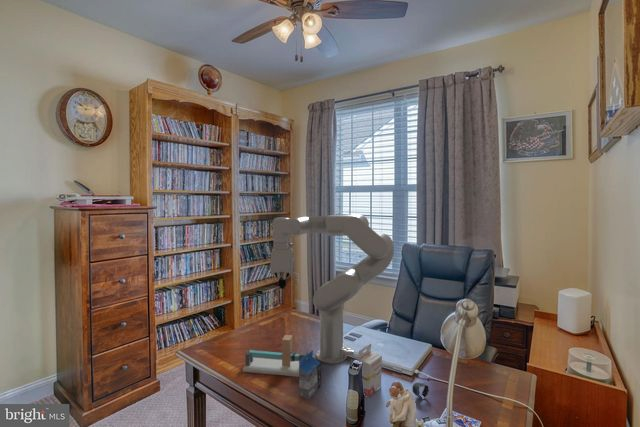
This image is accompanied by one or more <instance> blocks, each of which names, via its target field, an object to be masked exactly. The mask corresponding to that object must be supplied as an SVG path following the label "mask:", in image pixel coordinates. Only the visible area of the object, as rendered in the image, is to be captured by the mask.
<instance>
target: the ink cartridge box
mask: <svg viewBox="0 0 640 427" xmlns="http://www.w3.org/2000/svg"><path fill="white" fill-rule="evenodd" d="M371 349H372V343H369V344H367V345H366V346H364V347H363V348H362V349H359V350H358V356H357V362H358V361H359V362H362V363H363V367H362V380H363V388H364V394H365V396H367V397H369V396H370V395H372V394H373V393H374V392H375V391H376V390H377V389H378V388H379V387H381V388H382V368H383V367H382V366H383V364H382V361H383V354H380V353H377V352H373V351H371ZM377 391H378V390H377ZM377 391H376V392H377ZM376 392H375V393H376ZM375 393H374V394H375ZM374 394H373V395H374ZM373 395H372V396H373ZM365 396H364V397H365ZM367 397H366V398H367ZM369 398H370V397H369Z"/></svg>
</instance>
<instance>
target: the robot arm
mask: <svg viewBox="0 0 640 427" xmlns="http://www.w3.org/2000/svg"><path fill="white" fill-rule="evenodd" d="M272 224H273V231H272V233H273V237H272V238H273V242H272V243H273V245H272V246H273V248H272V249H271V252H270V253H271V254H270V260H269V262H270V264H269V268H270V272H269V274H270V275H273V276H275V277H276V279H278V287H279V289H280V290H281V289H282V290H283V289H285V288H286V287H287V278H288V277H290V276H294V275H295V274H296V273H295V268H296V265H295V262H296V261H295V253H294V249H293V247H295V243H293V242H292V236H295V237H299V236H302V235H305V234H324V235H326V236H329V237H347V238H348V239H349V240H350V241H351V242H352V243H353V244H355V246H357V247H358V248H359V249H360V250H361V251H362V252H363V253H364V254H366V255H367V256H366V257H365V258H363V259H362V260H360V261H359V262H357V263H356V264H355V265H353V266H352V267H350V268H347V269H346V270H345V269H344V271H342V272H341V273H339V275H337V276H336V277H334V278H333V279H332V280H329V281H326V282H325V283H323V285H321V286H320V287H319V288H317V289H316V291H314V294H313V297H312V304H313V306H314V307H315V308H316V310H318V311H320V316H319V327H320V328H319V330H320V331H319V336H320V337H319V350H317V351H316V355H315V356H316V360H317V361H319V362H320V363H324V364H331V365H336V364H340V363H342V362H345V361H346V359H347V356H353V357H354V354H355V351H354V350H352V347H348V348H347V347H345V343H344V306H345V303H347V301H349V300H351V299H352V298H353V297H355V296H356V295H357V294H358V293H359V291H361V289H362V288H363V287H364V286H365V285H367V284H368V283H370V282H371V281H373V280H374V279H375V278H377V277H378V276H380V275H381V274H382V273H383V272H384V271H386V270H387V268H388V267H389V266H390V265H391V262H392V260H393V258H394V252H395V248H394V241H393V239H392V238H391V236H389V235H388V234H386V233H384V232H383V233H382V232H381V233H377V232H376V231H375V230H374V229H372V228H371V227H370V222H369V219H368V218H367V217H366V216H365V215H363V214H331V215H330V214H329V215H328V214H327V215H314V216H311V215H310V216H309V215H307V216H299V217H298V216H297V217H291V218H290V217H280V216H278V217H274V218H273V221H272ZM282 274H283V275H282Z"/></svg>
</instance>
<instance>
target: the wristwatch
mask: <svg viewBox="0 0 640 427" xmlns="http://www.w3.org/2000/svg"><path fill="white" fill-rule="evenodd" d="M421 387H424V388H423V390H422V392H420V388H421ZM429 392H430V388H429V385H427V384H426V383H424V382H415V383H414V384H413V385H412V393H413V394H414V395H415V396H417V398H419V399H422V397H421V396H420V395H423V396H424V397H425V398H426V397H427V396H428V394H429Z"/></svg>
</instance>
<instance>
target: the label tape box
mask: <svg viewBox="0 0 640 427" xmlns="http://www.w3.org/2000/svg"><path fill="white" fill-rule="evenodd" d="M313 354H314V350H311V351H310V352H308V354H307V355H306V356H305V357H304V358H302V359H301V360H300V361H299V381H298V382H299V397H300V398H303V399H306V400H310V399H311V398H312V397H313V396H314V395H315V394H316V393H317V392H318V390H319V389H320V388H321V387H322V362H321V361H319V360H318V359H317V358H315V357H313ZM306 358H308V359H307V360H306V361H304V360H305V359H306Z"/></svg>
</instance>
